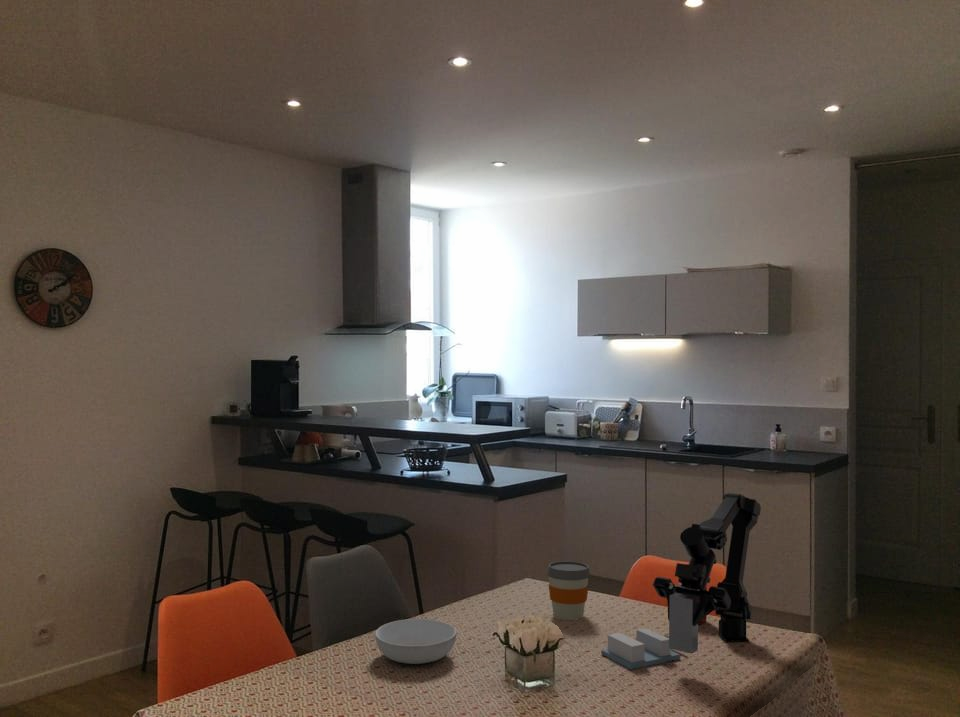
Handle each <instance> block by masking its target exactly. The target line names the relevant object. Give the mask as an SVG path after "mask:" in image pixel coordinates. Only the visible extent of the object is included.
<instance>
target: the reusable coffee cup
mask: <svg viewBox="0 0 960 717" xmlns="http://www.w3.org/2000/svg"><path fill="white" fill-rule="evenodd" d="M547 567H548V568H547V569H548V570H547V576H548V577H549V578H548V580H549V582H548V590H549V591H548V592H549V600H551V605H552V613H553V617H554V618H555V619H558V620H562V621H577V620H576V619H579V620H581V619H583V618H584V612H585V604H586V602H587V600H588V594H589V593H588V592H589V584H588V583H589V578H590V576H591V575H590V568H589V565H588V564H587V563H584V562H580V561H579V562H578V561H573V560H572V561H571V560H569V561H567V560H561V561H554V562H550V563H549V564H548V566H547ZM582 617H583V618H582ZM580 618H581V619H580Z"/></svg>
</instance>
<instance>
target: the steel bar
mask: <svg viewBox="0 0 960 717" xmlns="http://www.w3.org/2000/svg"><path fill="white" fill-rule="evenodd" d="M697 608H698V597H696V596H691V595H686V594H680V593H674V594H671V595H670V604H669V620H668V625H669V626H668V630H669V631H668V636H669V649H671V650H672V651H679V652H682V653H687V654H694V653H696V652H698V651H699V625H698V624H697V625H696V626H693V619H694V616H695V614H696V611H697Z"/></svg>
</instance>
